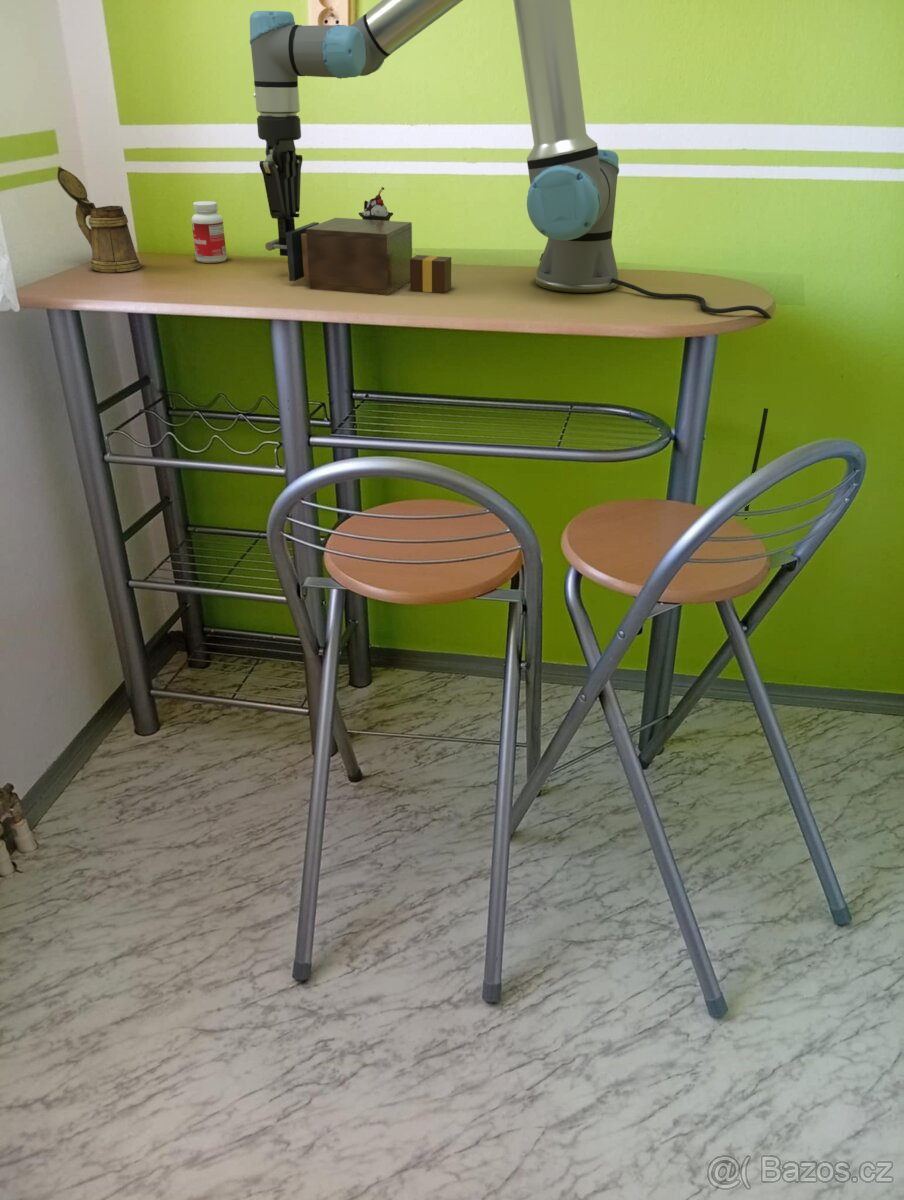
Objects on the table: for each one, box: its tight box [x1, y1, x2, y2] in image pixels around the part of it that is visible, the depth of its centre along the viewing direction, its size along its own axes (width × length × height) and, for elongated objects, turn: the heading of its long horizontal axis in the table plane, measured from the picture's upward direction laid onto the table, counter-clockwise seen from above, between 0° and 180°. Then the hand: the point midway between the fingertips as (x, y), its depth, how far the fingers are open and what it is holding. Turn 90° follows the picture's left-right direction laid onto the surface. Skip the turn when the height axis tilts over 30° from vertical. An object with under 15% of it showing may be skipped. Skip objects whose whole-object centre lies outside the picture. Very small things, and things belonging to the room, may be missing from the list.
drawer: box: [265, 221, 320, 282], centre depth 176 cm, size 20×12×8 cm, turn 73°
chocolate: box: [409, 254, 452, 294], centre depth 172 cm, size 6×4×6 cm, turn 73°
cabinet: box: [306, 217, 413, 296], centre depth 174 cm, size 15×13×10 cm
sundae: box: [358, 186, 394, 221], centre depth 185 cm, size 7×7×15 cm
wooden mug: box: [56, 166, 142, 274], centre depth 182 cm, size 9×14×18 cm, turn 76°
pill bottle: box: [191, 200, 228, 264], centre depth 191 cm, size 6×6×11 cm
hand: (288, 255), depth 178 cm, fingers closed
